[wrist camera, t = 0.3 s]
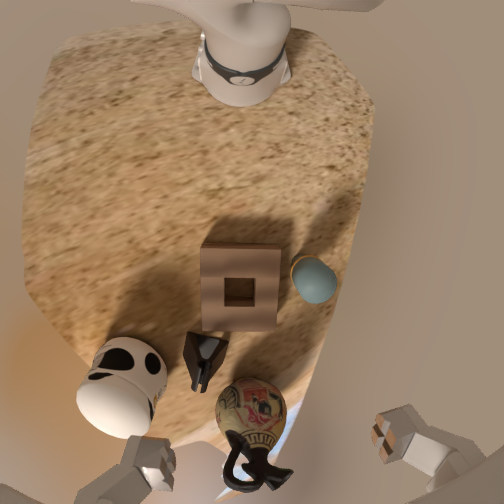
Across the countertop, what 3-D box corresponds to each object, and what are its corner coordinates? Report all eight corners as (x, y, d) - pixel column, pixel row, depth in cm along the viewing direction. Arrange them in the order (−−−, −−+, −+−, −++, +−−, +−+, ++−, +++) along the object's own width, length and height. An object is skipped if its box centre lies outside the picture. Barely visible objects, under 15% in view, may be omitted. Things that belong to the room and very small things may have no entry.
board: (202, 242, 53) (200, 248, 49) (276, 243, 55) (281, 249, 50) (204, 319, 57) (202, 330, 52) (272, 319, 58) (275, 331, 53)
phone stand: (228, 340, 59) (228, 374, 47) (222, 362, 60) (221, 397, 48) (187, 331, 58) (179, 363, 46) (182, 353, 59) (174, 387, 47)
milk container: (169, 396, 62) (157, 449, 44) (105, 381, 60) (80, 428, 42) (171, 339, 58) (153, 392, 40) (99, 323, 56) (63, 367, 38)
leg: (285, 247, 55) (300, 265, 43) (317, 248, 55) (339, 265, 44) (283, 280, 56) (296, 304, 45) (314, 280, 57) (334, 303, 45)
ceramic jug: (289, 370, 62) (322, 473, 33) (269, 414, 65) (287, 510, 36) (217, 357, 60) (212, 468, 30) (204, 404, 63) (197, 505, 34)
